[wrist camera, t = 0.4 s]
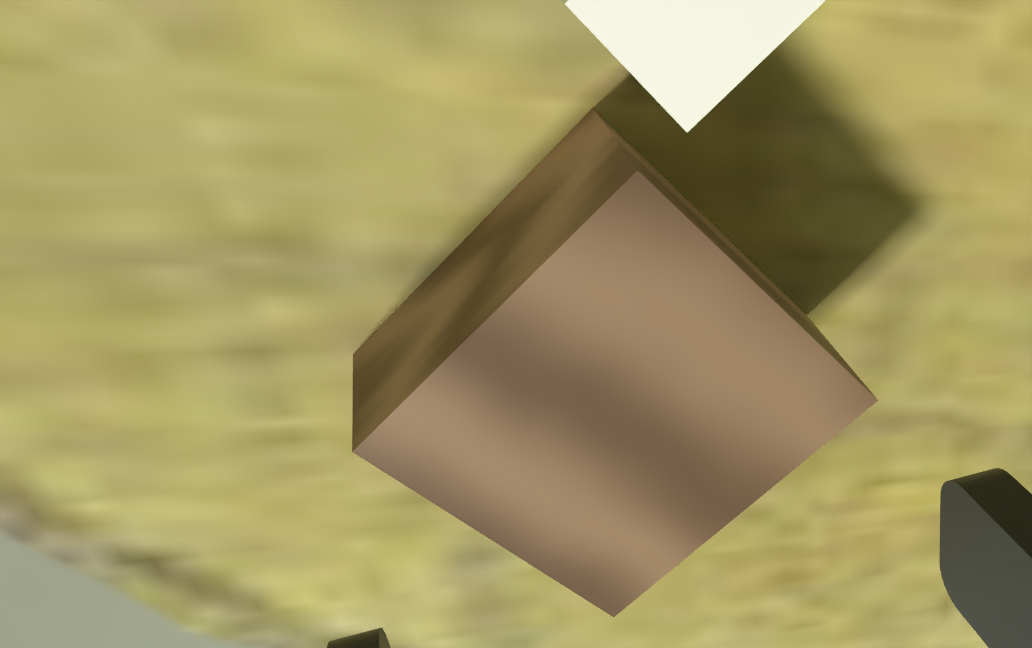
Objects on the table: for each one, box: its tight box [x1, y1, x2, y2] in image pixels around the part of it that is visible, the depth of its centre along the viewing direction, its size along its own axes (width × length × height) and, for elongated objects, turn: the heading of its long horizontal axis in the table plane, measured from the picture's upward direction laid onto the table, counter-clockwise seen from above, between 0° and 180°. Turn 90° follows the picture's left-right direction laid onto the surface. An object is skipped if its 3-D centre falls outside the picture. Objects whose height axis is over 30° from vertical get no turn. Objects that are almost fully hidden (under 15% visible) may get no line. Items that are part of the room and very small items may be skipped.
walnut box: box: [352, 108, 878, 617], centre depth 33 cm, size 12×12×6 cm
